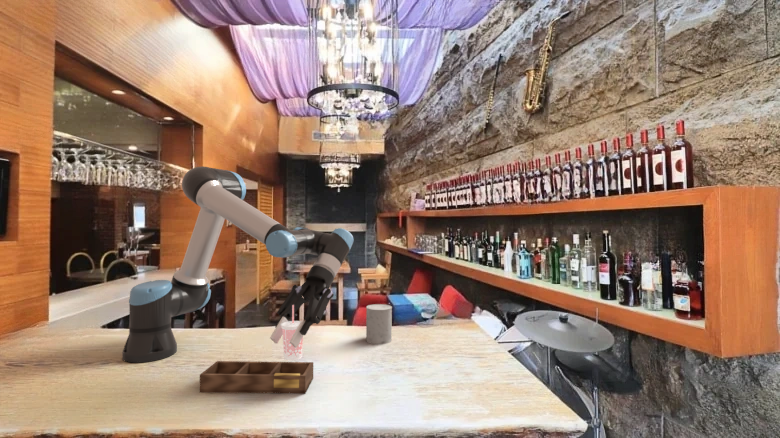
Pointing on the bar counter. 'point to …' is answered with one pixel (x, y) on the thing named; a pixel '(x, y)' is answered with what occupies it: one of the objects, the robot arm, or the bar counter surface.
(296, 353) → the beverage cup
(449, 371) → the bar counter surface
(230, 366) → the brown wooden compartment tray
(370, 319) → the gray concrete cylinder
